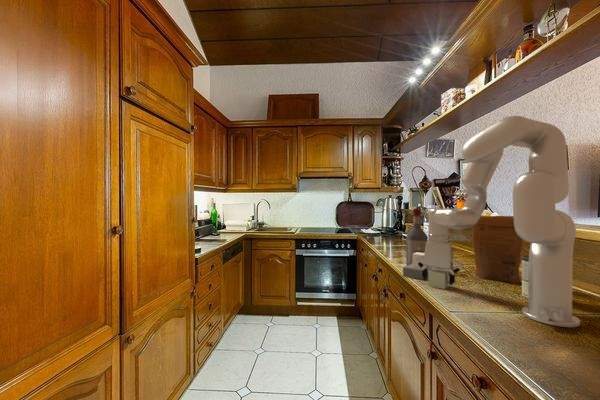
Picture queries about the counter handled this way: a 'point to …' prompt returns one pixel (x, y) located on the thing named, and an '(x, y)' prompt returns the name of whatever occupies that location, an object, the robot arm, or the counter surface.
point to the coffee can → (525, 276)
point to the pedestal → (414, 272)
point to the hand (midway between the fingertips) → (438, 281)
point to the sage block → (438, 278)
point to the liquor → (415, 238)
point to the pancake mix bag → (497, 248)
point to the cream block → (414, 262)
